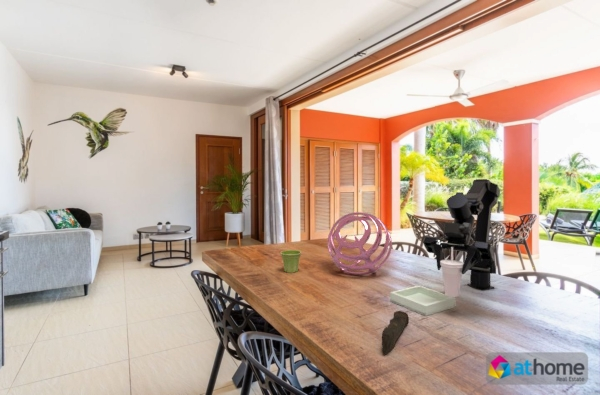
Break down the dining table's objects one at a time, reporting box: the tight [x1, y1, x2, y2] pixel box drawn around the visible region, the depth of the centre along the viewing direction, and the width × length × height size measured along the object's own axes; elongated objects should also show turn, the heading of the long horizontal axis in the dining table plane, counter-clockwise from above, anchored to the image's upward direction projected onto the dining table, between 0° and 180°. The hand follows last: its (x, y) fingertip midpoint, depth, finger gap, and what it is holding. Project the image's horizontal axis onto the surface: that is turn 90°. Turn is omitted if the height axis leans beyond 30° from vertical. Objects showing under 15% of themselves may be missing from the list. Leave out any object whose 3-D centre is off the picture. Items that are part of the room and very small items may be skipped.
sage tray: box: [389, 284, 457, 317], centre depth 102 cm, size 14×14×3 cm
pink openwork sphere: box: [327, 211, 393, 276], centre depth 140 cm, size 28×28×27 cm
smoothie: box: [440, 247, 464, 297], centre depth 93 cm, size 6×6×14 cm
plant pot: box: [280, 249, 302, 274], centre depth 143 cm, size 9×9×9 cm
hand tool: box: [381, 310, 410, 356], centre depth 79 cm, size 19×4×5 cm, turn 148°
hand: (450, 271), depth 92 cm, fingers closed on smoothie, 6 cm apart
